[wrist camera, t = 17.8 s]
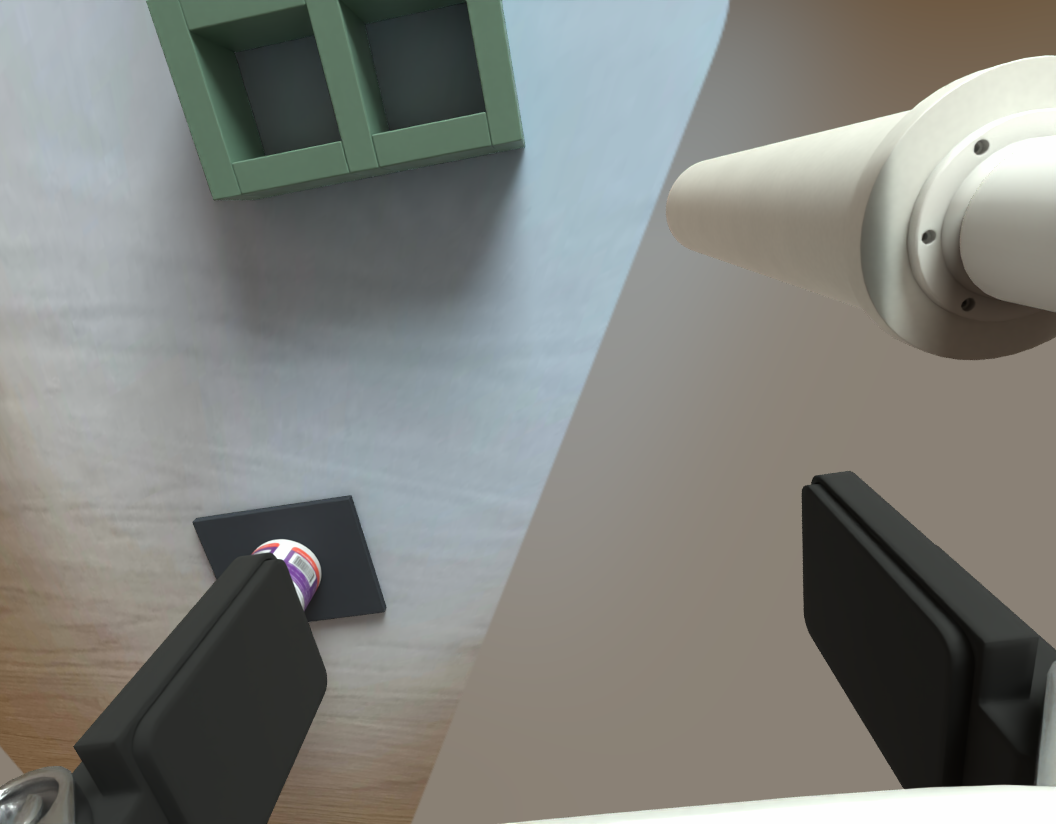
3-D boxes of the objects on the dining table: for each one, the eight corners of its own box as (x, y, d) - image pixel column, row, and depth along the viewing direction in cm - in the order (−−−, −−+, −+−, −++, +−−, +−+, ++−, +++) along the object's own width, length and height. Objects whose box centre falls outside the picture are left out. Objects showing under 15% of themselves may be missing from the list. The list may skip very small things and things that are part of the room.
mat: (351, 494, 42) (348, 498, 41) (386, 607, 45) (384, 612, 45) (196, 517, 43) (191, 521, 42) (241, 626, 46) (238, 631, 46)
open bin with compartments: (495, -41, 31) (487, -79, 26) (525, 147, 34) (522, 139, 30) (197, 26, 32) (145, -1, 28) (252, 200, 35) (213, 200, 31)
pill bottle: (250, 590, 44) (173, 691, 35) (253, 530, 43) (174, 620, 33) (320, 603, 45) (262, 707, 35) (327, 544, 43) (268, 638, 34)
